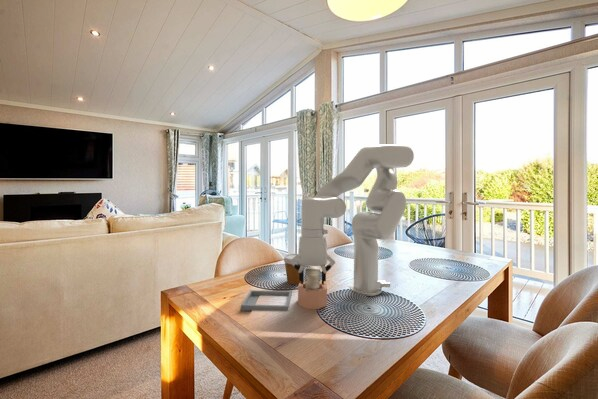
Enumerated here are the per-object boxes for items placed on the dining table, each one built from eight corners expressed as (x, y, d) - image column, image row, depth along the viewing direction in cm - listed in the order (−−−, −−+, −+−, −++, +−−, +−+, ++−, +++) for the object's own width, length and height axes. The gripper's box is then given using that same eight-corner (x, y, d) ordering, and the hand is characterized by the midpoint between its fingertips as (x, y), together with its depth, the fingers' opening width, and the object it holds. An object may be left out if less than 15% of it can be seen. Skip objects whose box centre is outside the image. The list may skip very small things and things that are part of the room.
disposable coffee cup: (303, 289, 116) (303, 260, 115) (281, 287, 118) (281, 258, 117) (307, 280, 125) (307, 254, 124) (286, 279, 127) (286, 253, 126)
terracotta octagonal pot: (326, 299, 106) (326, 281, 105) (327, 312, 96) (327, 291, 95) (299, 298, 106) (299, 280, 106) (297, 311, 96) (297, 291, 96)
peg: (319, 299, 103) (319, 267, 102) (319, 305, 98) (319, 271, 97) (305, 299, 104) (305, 266, 103) (305, 305, 99) (305, 271, 98)
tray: (291, 296, 108) (291, 291, 108) (288, 312, 95) (288, 306, 95) (250, 295, 109) (250, 290, 109) (241, 311, 96) (241, 305, 96)
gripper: (336, 231, 102) (336, 279, 104) (289, 230, 103) (289, 278, 105) (338, 235, 95) (337, 287, 96) (286, 234, 96) (287, 286, 97)
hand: (312, 282), depth 100 cm, fingers open, 6 cm apart
